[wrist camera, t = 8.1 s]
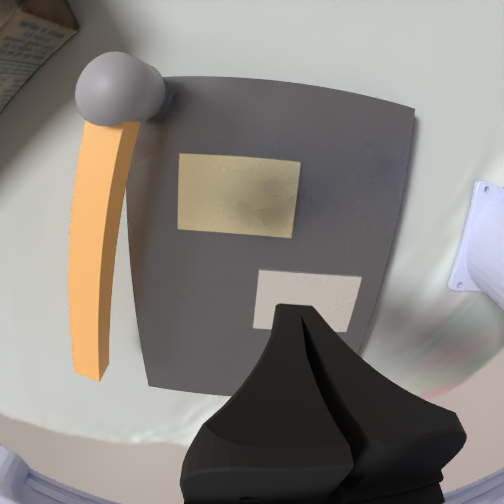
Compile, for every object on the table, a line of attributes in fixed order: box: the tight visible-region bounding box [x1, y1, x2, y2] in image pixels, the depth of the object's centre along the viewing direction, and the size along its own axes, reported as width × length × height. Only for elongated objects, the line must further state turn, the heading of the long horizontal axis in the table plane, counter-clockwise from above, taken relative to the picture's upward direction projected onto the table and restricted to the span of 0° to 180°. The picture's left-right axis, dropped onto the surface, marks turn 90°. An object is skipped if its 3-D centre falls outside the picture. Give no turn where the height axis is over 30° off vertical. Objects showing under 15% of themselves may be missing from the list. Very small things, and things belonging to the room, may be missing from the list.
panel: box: [126, 76, 415, 396], centre depth 17 cm, size 15×21×2 cm
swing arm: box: [68, 51, 165, 382], centre depth 13 cm, size 18×3×3 cm, turn 162°
